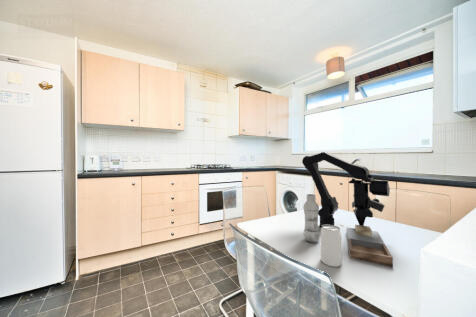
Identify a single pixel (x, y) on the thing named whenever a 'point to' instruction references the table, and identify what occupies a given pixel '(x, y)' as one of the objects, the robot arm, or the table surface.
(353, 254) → the box
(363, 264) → the table surface
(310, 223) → the plastic bottle
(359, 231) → the tile
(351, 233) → the plate
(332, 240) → the can
